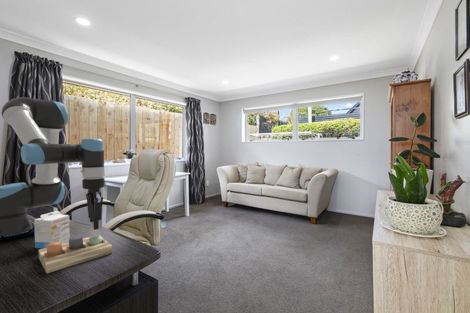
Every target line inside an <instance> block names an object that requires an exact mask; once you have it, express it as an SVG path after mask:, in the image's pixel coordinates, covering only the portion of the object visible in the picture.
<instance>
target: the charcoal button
mask: <svg viewBox="0 0 470 313" xmlns="http://www.w3.org/2000/svg"><path fill="white" fill-rule="evenodd" d="M83 238H84V237H83V236H74V237H73V236H72V237H70V239H69V249H71V250H73V249H78V248H81V247H83Z"/></svg>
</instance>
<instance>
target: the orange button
mask: <svg viewBox="0 0 470 313" xmlns="http://www.w3.org/2000/svg"><path fill="white" fill-rule="evenodd" d="M61 252H62V242H60V241H58V242H52V243H49V244H47V255H48V256H52V255H57V254H59V253H61Z"/></svg>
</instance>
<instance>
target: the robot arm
mask: <svg viewBox="0 0 470 313" xmlns="http://www.w3.org/2000/svg"><path fill="white" fill-rule="evenodd" d="M0 112H1V117H2V118H3V120H4V122H5V123H6V124H8V125H9V126H11V127H12V129H13V131H14V132H15V134H16V135H17V137H18V139H19V140H20V143H21V144H22V146H21V148H20V157H21V161H22V163H23V164H25V165H35V177H33V178H32V179H31V183H30V184H28V185H27V183H26V182H15V183H9V184H4V185H1V186H0V238H1V236H3V235H12V234H18V233H22V232H26V231H29V230H30V229H32V228H33V223H32V221H31V220H30V218H29V215H28V210H29V209H35V208H40V207H45V206H53V205H56V204H60V203H61V202H62V201H63V199H64V198H65V194H66V193H65V192H66V188H65V183H64V182H63V181H61V178H59V177H58V164H70V163H71V164H72V163H73V164H74V163H81V170H80V173H82V174H81V176H82V178H83V179H82V180H81V181H82V182H81V183H82V189H84V190H87V193H85V198H86V204H87V214H88V216H87V217H88V219H89V223H90V237H91V238H95V237H99V236H100V235H101V233H100V232H101V231H100V230H101V229H100V221H101V220H102V215H103V213H102V212H103V202H104V197H103V196H102V192H101V188H105V185H106V184H105V174H106V173H105V147H104V140H103V139H101V138H82V139H81V140H80V142H81V143H59V142H60V138H59V136H60V132H61V131H62V130H64V126H67V125H68V123H69V112H68V109H67V107H66V106H65V104H64V103H63V102H59V101H55V100H51V99H50V100H48V99H40V98H32V97H28V96H27V97H25V96H24V97H23V96H21V97H16V98H12V99H10V100H8V101H7V102H6V103H5V104H4V105H2V107H1V111H0Z"/></svg>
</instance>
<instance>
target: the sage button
mask: <svg viewBox="0 0 470 313" xmlns="http://www.w3.org/2000/svg"><path fill="white" fill-rule="evenodd" d="M89 237H90V238H89V246H90V247H91V246H94V245H98V244H101V243H102V238H103V237H102V235H101V234H100V236H99V237H95V238H91V236H89Z"/></svg>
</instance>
